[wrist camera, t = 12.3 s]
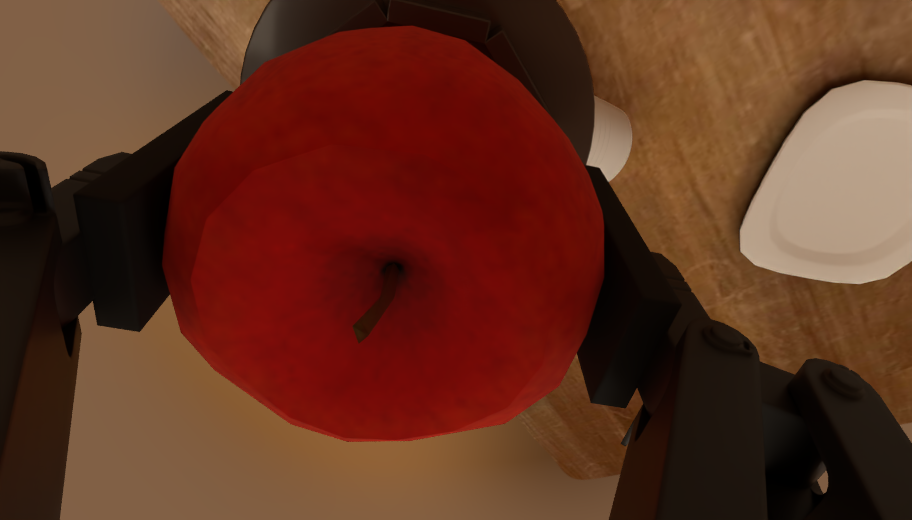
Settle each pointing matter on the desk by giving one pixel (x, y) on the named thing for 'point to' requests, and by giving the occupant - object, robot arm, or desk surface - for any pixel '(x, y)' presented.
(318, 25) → the holder
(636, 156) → the desk surface
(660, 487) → the robot arm
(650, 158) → the desk surface
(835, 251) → the plate
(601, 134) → the cup
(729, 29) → the desk surface
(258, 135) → the apple
